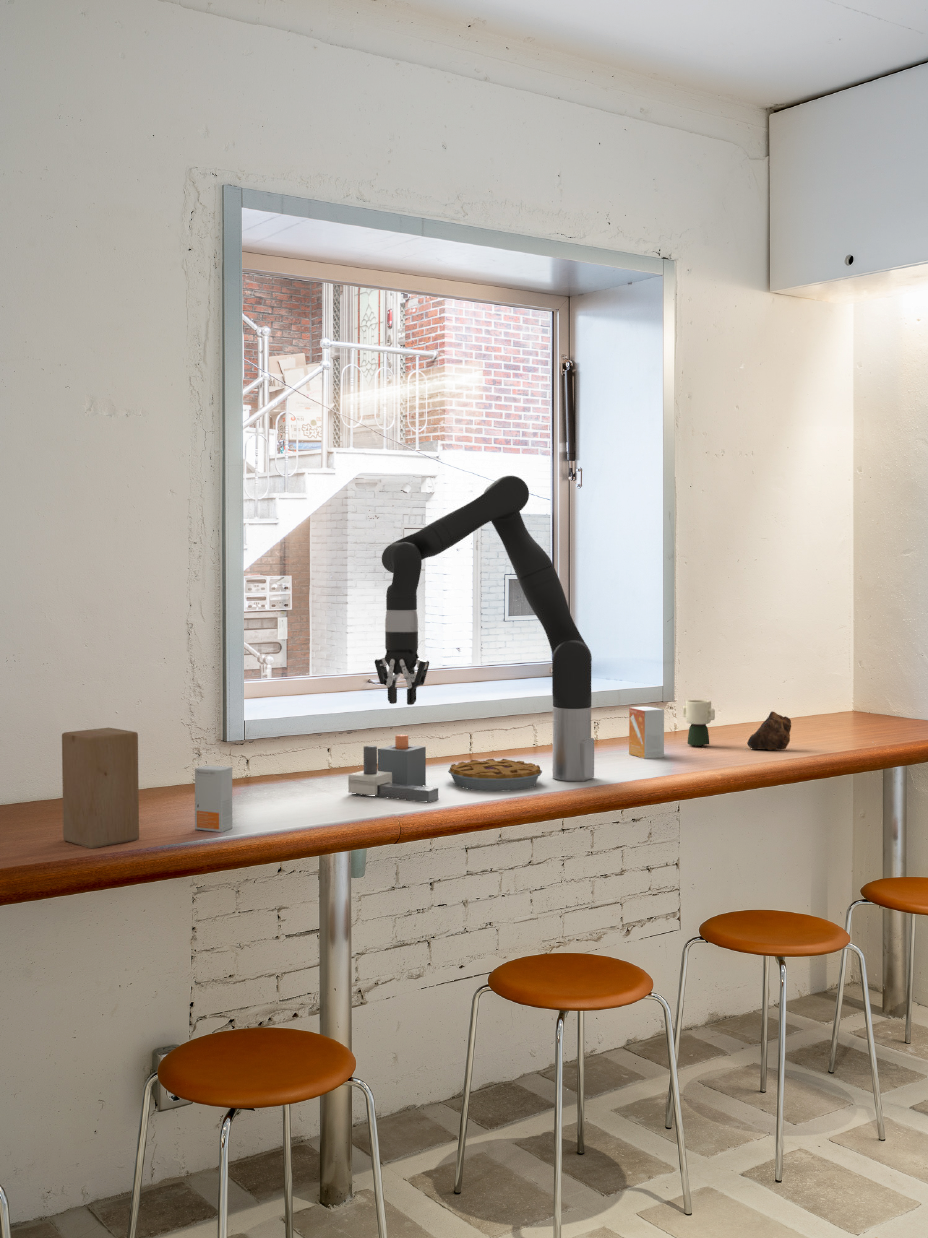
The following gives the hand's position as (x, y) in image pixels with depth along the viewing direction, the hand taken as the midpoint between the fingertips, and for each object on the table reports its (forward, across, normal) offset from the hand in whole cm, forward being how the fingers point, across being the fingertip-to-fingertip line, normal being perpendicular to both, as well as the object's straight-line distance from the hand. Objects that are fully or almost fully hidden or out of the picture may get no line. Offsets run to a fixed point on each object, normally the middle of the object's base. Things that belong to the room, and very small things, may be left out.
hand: (401, 703), depth 260 cm
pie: (+20, -17, -14) cm, 30 cm away
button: (+12, 0, 0) cm, 12 cm away
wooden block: (+19, +20, +72) cm, 77 cm away
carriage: (+19, +1, +11) cm, 22 cm away
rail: (+19, -5, +11) cm, 23 cm away
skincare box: (+19, +8, +55) cm, 59 cm away
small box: (+20, -34, -70) cm, 80 cm away
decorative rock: (+20, -61, -97) cm, 116 cm away
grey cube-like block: (+19, 0, 0) cm, 19 cm away
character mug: (+19, -41, -94) cm, 104 cm away
